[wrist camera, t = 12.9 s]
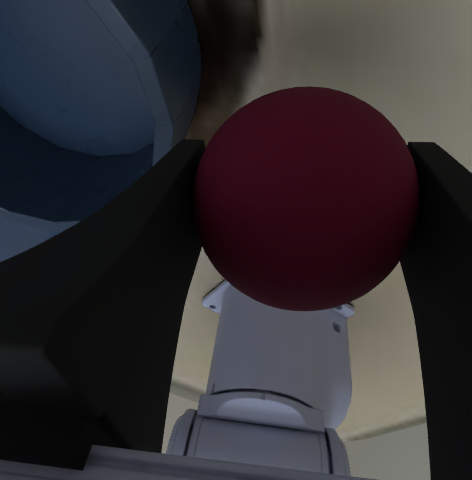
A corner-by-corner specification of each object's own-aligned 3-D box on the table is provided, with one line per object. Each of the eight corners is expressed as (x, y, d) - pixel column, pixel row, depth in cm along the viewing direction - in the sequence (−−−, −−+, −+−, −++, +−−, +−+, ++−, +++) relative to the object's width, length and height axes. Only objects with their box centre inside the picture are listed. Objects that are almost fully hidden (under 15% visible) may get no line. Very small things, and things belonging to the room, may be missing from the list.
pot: (255, 23, 16) (238, 84, 12) (137, 195, 24) (103, 266, 20) (-58, -237, 12) (-240, -274, 8) (-77, 74, 20) (-174, 134, 16)
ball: (440, 132, 11) (511, 287, 7) (306, 234, 14) (306, 374, 10) (293, -2, 9) (284, 114, 5) (180, 152, 12) (126, 288, 9)
